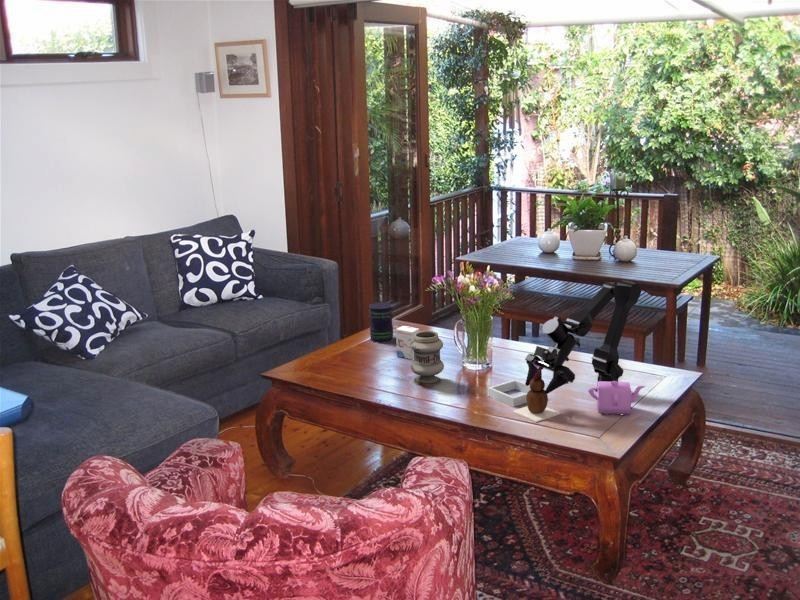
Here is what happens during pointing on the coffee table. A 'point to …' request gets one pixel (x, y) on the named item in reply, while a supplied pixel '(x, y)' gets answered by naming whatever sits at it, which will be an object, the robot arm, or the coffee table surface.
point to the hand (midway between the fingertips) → (535, 389)
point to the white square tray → (498, 390)
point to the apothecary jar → (427, 358)
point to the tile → (536, 414)
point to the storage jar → (381, 322)
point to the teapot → (614, 397)
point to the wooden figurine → (537, 394)
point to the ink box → (405, 341)
